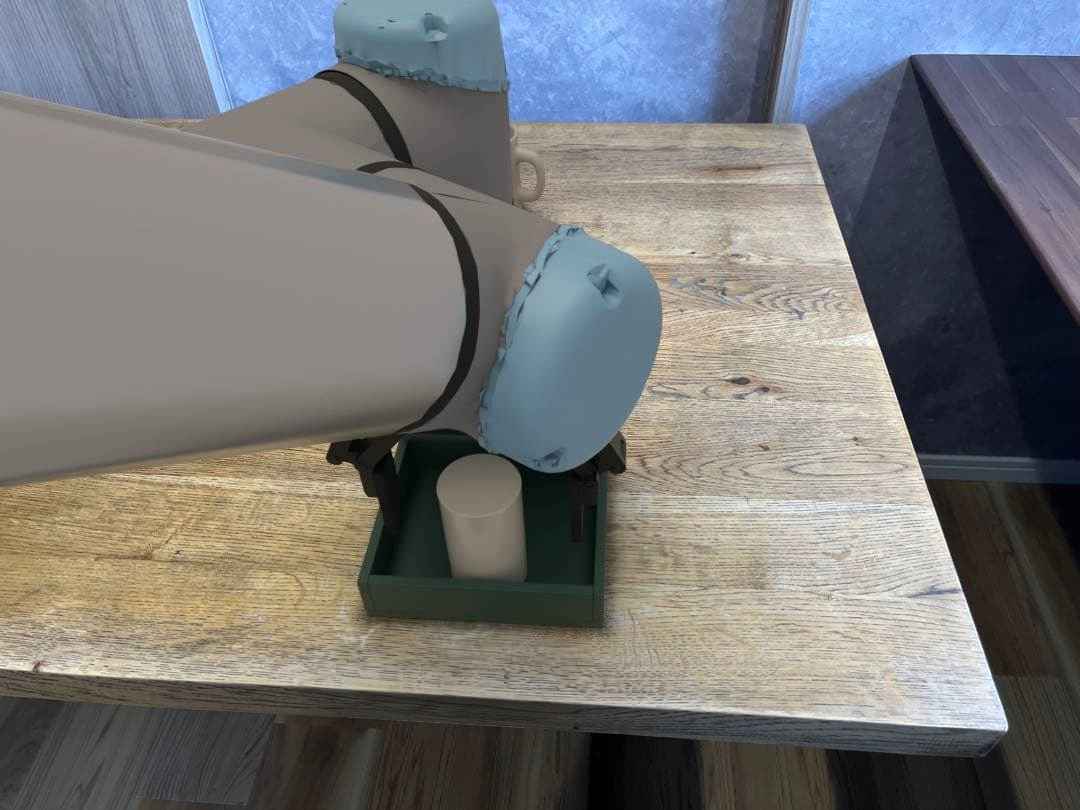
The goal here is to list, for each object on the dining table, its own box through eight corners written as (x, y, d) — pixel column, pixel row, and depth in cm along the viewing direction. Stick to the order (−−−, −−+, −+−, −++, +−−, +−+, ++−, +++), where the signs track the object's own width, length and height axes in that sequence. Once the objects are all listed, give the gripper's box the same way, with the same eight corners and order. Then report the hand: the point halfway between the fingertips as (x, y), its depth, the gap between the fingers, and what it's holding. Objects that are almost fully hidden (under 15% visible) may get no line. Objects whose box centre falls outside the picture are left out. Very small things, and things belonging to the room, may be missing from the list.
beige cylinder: (492, 615, 61) (481, 531, 54) (435, 574, 64) (418, 489, 57) (543, 564, 64) (539, 478, 58) (487, 527, 67) (476, 441, 61)
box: (603, 628, 61) (604, 595, 58) (366, 616, 62) (356, 582, 59) (607, 474, 72) (608, 439, 69) (408, 466, 74) (401, 432, 71)
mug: (447, 226, 105) (437, 144, 98) (471, 194, 111) (463, 115, 103) (536, 238, 102) (532, 155, 95) (555, 205, 108) (553, 124, 101)
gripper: (674, 252, 48) (654, 491, 62) (263, 248, 50) (335, 480, 64) (679, 331, 42) (656, 573, 57) (217, 322, 45) (308, 557, 59)
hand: (486, 524), depth 61 cm, fingers open, 13 cm apart
